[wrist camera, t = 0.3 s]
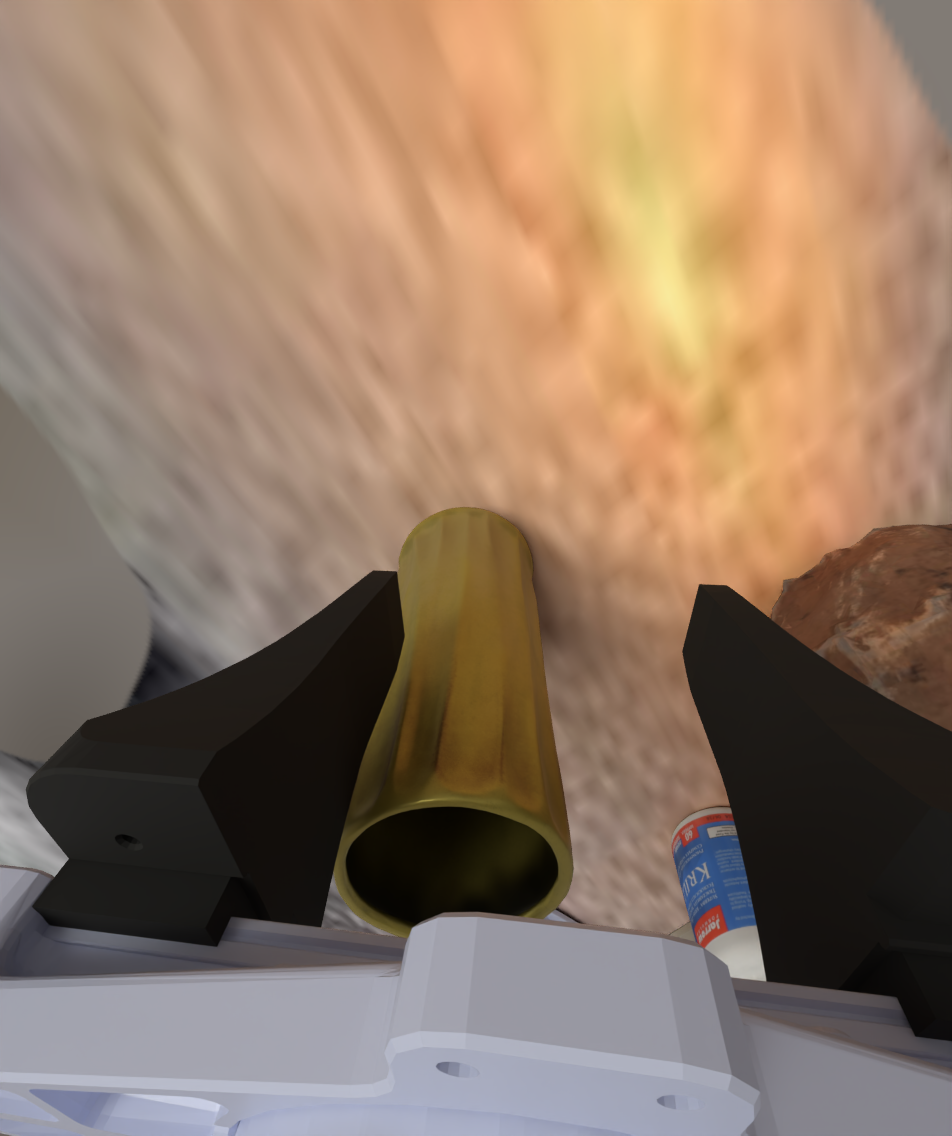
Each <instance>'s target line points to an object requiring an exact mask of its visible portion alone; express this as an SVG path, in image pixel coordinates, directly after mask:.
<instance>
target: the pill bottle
mask: <svg viewBox="0 0 952 1136" xmlns="http://www.w3.org/2000/svg"><path fill="white" fill-rule="evenodd" d="M671 847H672V853H673V858H674V861H675V865H676V869H677V873H678V876H679V880H680V884H681V888H682V892H683V896H684V900H685V903H686V907H687V911H688V914H689V918H690V922H691V926H692V930H693V934H694V937H695V941H696V943H698V944H699V945H701V946H702V947H703V948H705V949H706V950H708V951H709V952H711V953H712V954H713V955H715V956H716V957H718V958H719V959H720V960H721V961H723V962H724V963H725V964H726V965H728V969H729V973H730V977H734V978H742V979H750V980H758V981H766V976H765V970H764V964H763V959H762V953H761V947H760V941H759V935H758V930H757V925H756V920H755V915H754V910H753V905H752V900H751V895H750V890H749V885H748V880H747V876H746V871H745V867H744V862H743V858H742V853H741V849H740V844H739V840H738V835H737V831H736V827H735V823H734V819H733V815H732V811H731V808H729V807H714V808H708V809H704V810H701V811H698V812H696V813H693V814H691V815H690V816H688V817H687V818H685V819H684V820H683V821H682V822H681V823H680V824H679V825H678V826H677V827H676V829H675V831H674V833H673V836H672V840H671Z"/></svg>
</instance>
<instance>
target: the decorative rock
mask: <svg viewBox="0 0 952 1136" xmlns="http://www.w3.org/2000/svg"><path fill="white" fill-rule="evenodd" d="M771 620H772V621H774V622H775V623H776V624H778V625H779V626H780V627H781V628H783V629H784V630H785V631H787V632H788V633H789V634H791V635H792V636H793V637H795V638H796V639H797V640H799V641H800V642H801V643H803V644H804V645H806V646H807V647H808V648H810V649H811V650H812V651H814V652H815V653H817V654H818V655H820V656H821V657H823V658H824V659H826V660H827V661H828V662H830V663H831V664H833V665H834V666H836V667H837V668H839V669H840V670H842V671H843V672H845V673H847V674H848V675H850V676H851V677H853V678H854V679H856V680H858V681H859V682H861V683H863V684H864V685H866V686H868V687H870V688H871V689H873V690H875V691H876V692H878V693H880V694H881V695H883V696H885V697H886V698H888V699H890V700H892V701H894V702H895V703H897V704H899V705H901V706H903V707H905V708H906V709H908V710H910V711H912V712H914V713H916V714H918V715H920V716H922V717H924V718H926V719H928V720H930V721H932V722H934V723H936V724H938V725H940V726H942V727H943V728H945V729H947V730H950V731H952V524H949V525H938V526H932V525H903V526H892V527H886V528H876V529H873V530H872V531H871V532H869V533H868V534H867V535H866V536H865V537H864V538H863V539H862V540H860V541H859V542H858V543H856V544H855V545H854V546H852V547H850V548H845V549H838V550H835V551H833V552H830V553H828V554H826V555H824V557H823V558H822V560H821V562H820V564H818V565H816V566H815V567H814V568H812V569H811V570H809V571H808V572H806V573H805V574H803V575H802V576H800V577H799V578H795V579H788V580H783V592H782V594H781V596H780V597H779V599H778V601H777V602H776V604H775V605H774V607H773V608H772V614H771Z"/></svg>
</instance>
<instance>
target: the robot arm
mask: <svg viewBox="0 0 952 1136" xmlns="http://www.w3.org/2000/svg"><path fill="white" fill-rule="evenodd" d="M404 638H405V632H404V624H403V616H402V608H401V599H400V591H399V583H398V575H397V572H396V571H372V572H371V573H369V574H368V575H367V576H365V577H364V578H363V579H361V580H360V581H359V582H358V583H356V584H355V585H354V586H353V587H351V588H350V589H349V590H347V591H346V592H345V593H344V594H342V595H341V596H340V597H339V598H337V599H336V600H335V601H333V602H332V603H331V604H329V605H328V606H327V607H326V608H324V609H323V610H322V611H320V612H319V613H318V614H316V615H315V616H313V617H312V618H310V619H309V620H307V621H306V622H305V623H303V624H302V625H300V626H299V627H297V628H296V629H295V630H293V631H292V632H290V633H289V634H287V635H286V636H284V637H282V638H281V639H279V640H278V641H276V642H274V643H273V644H271V645H269V646H268V647H266V648H264V649H262V650H260V651H259V652H257V653H255V654H253V655H252V656H250V657H248V658H246V659H244V660H242V661H240V662H238V663H236V664H234V665H232V666H230V667H228V668H225V669H223V670H221V671H219V672H217V673H215V674H213V675H211V676H209V677H207V678H205V679H202V680H200V681H198V682H195V683H193V684H190V685H188V686H186V687H183V688H181V689H178V690H175V691H173V692H170V693H168V694H165V695H163V696H160V697H157V698H154V699H152V700H149V701H146V702H143V703H140V704H137V705H134V706H131V707H128V708H125V709H121V710H118V711H115V712H112V713H109V714H106V715H103V716H100V717H96V718H93V719H90V720H87V721H86V722H85V723H84V724H83V725H82V726H81V727H80V728H79V729H78V730H77V731H76V732H75V733H74V734H73V735H72V736H71V737H70V738H69V739H68V740H67V741H66V742H65V743H64V744H63V745H62V746H61V747H60V748H59V750H57V752H56V753H55V754H54V755H53V756H52V757H51V758H50V759H49V760H48V761H47V762H46V763H45V764H44V765H43V766H42V767H41V768H40V769H39V770H38V771H37V772H36V773H35V774H34V775H33V776H32V777H31V778H30V779H29V782H28V785H27V788H26V793H27V799H28V804H29V807H30V809H31V810H32V812H33V813H34V815H35V817H36V818H37V819H38V821H39V822H40V823H41V824H42V826H43V827H44V828H45V829H46V831H47V832H48V833H49V834H50V836H51V837H52V838H53V839H54V841H55V842H56V843H57V844H58V846H59V847H60V848H61V849H62V851H63V852H64V853H65V854H66V855H67V857H68V858H69V860H68V861H67V862H66V863H65V865H64V866H63V867H62V868H61V870H60V871H59V872H58V874H57V875H56V876H55V877H53V876H52V875H50V874H48V873H46V872H44V871H41V870H37V869H33V868H24V867H16V866H7V865H0V1133H3V1134H7V1135H12V1136H952V731H950V730H947V729H945V728H943V727H942V726H940V725H938V724H936V723H934V722H932V721H930V720H928V719H926V718H924V717H922V716H920V715H918V714H916V713H914V712H912V711H910V710H908V709H906V708H905V707H903V706H901V705H899V704H897V703H895V702H894V701H892V700H890V699H888V698H886V697H885V696H883V695H881V694H880V693H878V692H876V691H875V690H873V689H871V688H870V687H868V686H866V685H864V684H863V683H861V682H859V681H858V680H856V679H854V678H853V677H851V676H850V675H848V674H847V673H845V672H843V671H842V670H840V669H839V668H837V667H836V666H834V665H833V664H831V663H830V662H828V661H827V660H826V659H824V658H823V657H821V656H820V655H818V654H817V653H815V652H814V651H812V650H811V649H810V648H808V647H807V646H806V645H804V644H803V643H801V642H800V641H799V640H797V639H796V638H795V637H793V636H792V635H791V634H789V633H788V632H787V631H785V630H784V629H783V628H781V627H780V626H779V625H778V624H776V623H775V622H774V621H772V620H771V619H770V618H769V617H767V616H766V615H765V614H764V613H762V612H761V611H760V610H759V609H757V608H756V607H755V606H753V605H752V604H751V603H750V602H748V601H747V600H746V599H745V598H743V597H742V596H741V595H739V594H738V593H737V592H735V591H734V590H733V589H731V588H730V587H728V586H727V585H703V584H699V587H698V591H697V595H696V599H695V603H694V607H693V611H692V615H691V619H690V623H689V627H688V631H687V635H686V639H685V643H684V647H683V651H682V652H683V658H684V663H685V668H686V673H687V678H688V682H689V686H690V690H691V693H692V696H693V699H694V702H695V705H696V707H697V710H698V713H699V716H700V718H701V721H702V724H703V727H704V729H705V732H706V735H707V737H708V740H709V743H710V746H711V748H712V751H713V754H714V756H715V759H716V762H717V765H718V767H719V770H720V773H721V776H722V779H723V782H724V785H725V788H726V792H727V795H728V799H729V803H730V807H731V811H732V815H733V819H734V823H735V827H736V831H737V835H738V840H739V844H740V849H741V853H742V858H743V862H744V867H745V871H746V876H747V880H748V885H749V890H750V895H751V900H752V905H753V910H754V915H755V920H756V925H757V930H758V935H759V941H760V947H761V953H762V959H763V964H764V970H765V976H766V981H758V980H750V979H742V978H734V977H730V973H729V969H728V965H726V964H725V963H724V962H723V961H721V960H720V959H719V958H718V957H716V956H715V955H713V954H712V953H711V952H709V951H708V950H706V949H705V948H703V947H702V946H701V945H699V944H698V943H696V942H695V941H691V940H687V939H683V938H679V937H675V936H671V935H667V934H663V933H659V932H651V931H642V930H633V929H624V928H615V927H607V926H598V925H589V924H580V923H577V922H576V921H574V920H572V919H571V918H569V917H567V916H566V915H564V914H562V913H560V912H559V911H557V910H554V911H553V912H552V913H550V914H549V915H548V916H547V917H545V918H544V919H536V918H528V917H519V916H510V915H501V914H492V913H484V912H450V913H442V914H439V915H437V916H434V917H432V918H429V919H427V920H424V921H422V922H420V923H419V924H417V925H416V926H414V927H413V928H412V930H411V932H410V935H409V937H408V938H404V937H395V936H387V935H379V934H371V933H362V932H354V931H346V930H338V929H329V928H321V925H322V921H323V916H324V911H325V906H326V902H327V897H328V892H329V888H330V883H331V879H332V875H333V871H334V866H335V862H336V858H337V854H338V849H339V845H340V841H341V837H342V833H343V829H344V825H345V821H346V817H347V813H348V810H349V806H350V802H351V798H352V794H353V791H354V787H355V784H356V780H357V776H358V773H359V769H360V766H361V762H362V759H363V756H364V753H365V750H366V748H367V745H368V742H369V740H370V737H371V735H372V732H373V730H374V727H375V725H376V722H377V720H378V717H379V715H380V712H381V710H382V707H383V704H384V702H385V699H386V697H387V694H388V692H389V689H390V687H391V684H392V681H393V679H394V676H395V674H396V671H397V667H398V663H399V659H400V656H401V651H402V647H403V643H404Z"/></svg>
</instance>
